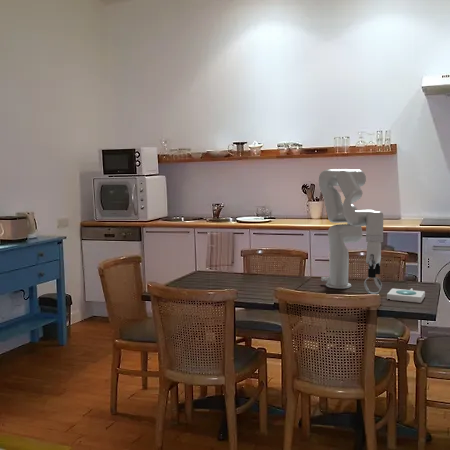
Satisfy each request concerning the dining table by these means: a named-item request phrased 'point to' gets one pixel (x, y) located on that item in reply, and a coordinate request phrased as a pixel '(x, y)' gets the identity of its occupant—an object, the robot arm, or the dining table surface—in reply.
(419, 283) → the dining table surface
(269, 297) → the dining table surface
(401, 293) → the charging dock
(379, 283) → the watch
